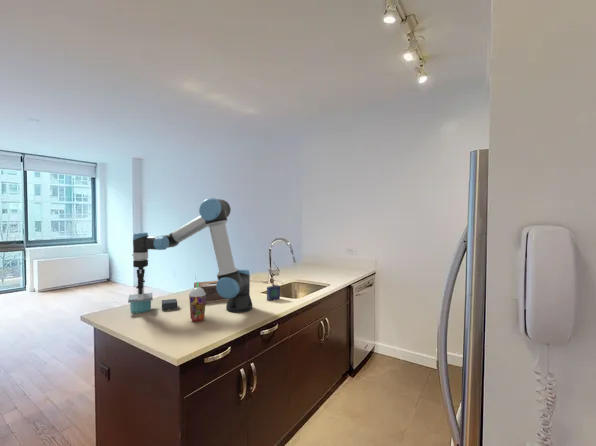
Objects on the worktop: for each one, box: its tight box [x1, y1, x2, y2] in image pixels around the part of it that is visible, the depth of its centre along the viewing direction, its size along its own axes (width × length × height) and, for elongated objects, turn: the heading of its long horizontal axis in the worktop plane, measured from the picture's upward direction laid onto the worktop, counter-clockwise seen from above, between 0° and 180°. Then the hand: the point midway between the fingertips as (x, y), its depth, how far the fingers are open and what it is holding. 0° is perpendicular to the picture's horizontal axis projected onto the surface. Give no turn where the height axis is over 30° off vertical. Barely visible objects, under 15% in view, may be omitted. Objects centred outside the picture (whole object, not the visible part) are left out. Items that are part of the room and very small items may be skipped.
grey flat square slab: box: [127, 292, 153, 304], centre depth 176 cm, size 12×12×2 cm
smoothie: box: [189, 281, 207, 323], centre depth 160 cm, size 8×8×20 cm
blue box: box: [266, 282, 281, 302], centre depth 200 cm, size 9×3×11 cm, turn 121°
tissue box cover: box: [193, 280, 228, 303], centre depth 204 cm, size 26×14×10 cm, turn 116°
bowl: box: [129, 300, 152, 314], centre depth 176 cm, size 10×10×6 cm
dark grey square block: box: [161, 298, 178, 312], centre depth 181 cm, size 8×8×4 cm
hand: (140, 296), depth 176 cm, fingers open, 13 cm apart
